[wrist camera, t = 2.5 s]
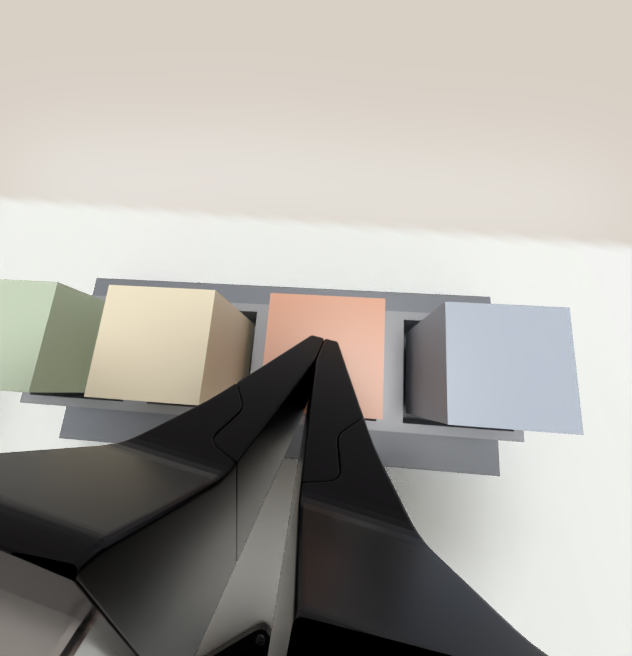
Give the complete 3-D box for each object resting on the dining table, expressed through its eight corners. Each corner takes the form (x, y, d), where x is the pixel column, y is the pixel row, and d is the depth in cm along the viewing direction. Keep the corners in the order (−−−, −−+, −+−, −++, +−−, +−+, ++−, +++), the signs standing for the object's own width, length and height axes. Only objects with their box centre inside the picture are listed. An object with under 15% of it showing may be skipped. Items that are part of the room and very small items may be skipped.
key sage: (61, 387, 16) (-78, 384, 11) (78, 314, 17) (-42, 277, 11) (133, 392, 16) (28, 392, 10) (147, 318, 16) (57, 282, 11)
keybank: (80, 434, 19) (-7, 448, 14) (113, 285, 21) (47, 253, 16) (485, 469, 17) (545, 498, 13) (478, 304, 19) (526, 274, 15)
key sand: (169, 395, 15) (83, 396, 10) (182, 320, 16) (109, 284, 11) (245, 400, 15) (198, 405, 10) (254, 324, 16) (215, 290, 11)
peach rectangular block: (284, 403, 15) (258, 410, 10) (291, 326, 16) (270, 293, 11) (364, 409, 15) (382, 419, 9) (367, 330, 16) (385, 298, 10)
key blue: (405, 413, 15) (447, 424, 9) (406, 333, 16) (445, 301, 10) (490, 419, 14) (583, 434, 9) (485, 337, 15) (569, 307, 10)
